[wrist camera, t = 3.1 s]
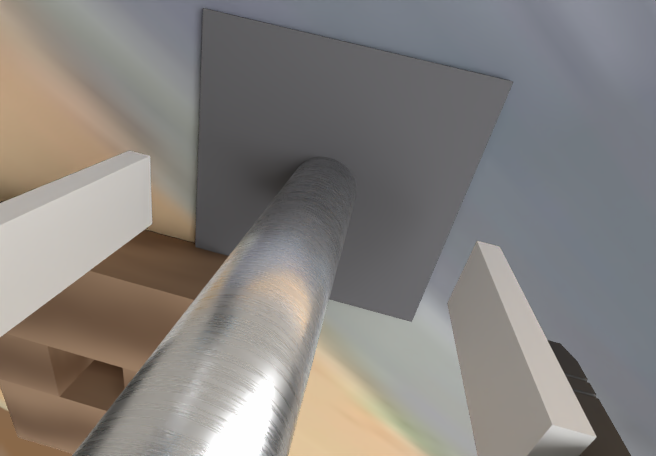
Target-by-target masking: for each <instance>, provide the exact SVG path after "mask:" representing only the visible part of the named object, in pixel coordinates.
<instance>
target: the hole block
mask: <svg viewBox="0 0 656 456" xmlns="http://www.w3.org/2000/svg"><path fill="white" fill-rule="evenodd" d="M227 258H228V256H226V255H223V254H219V253H215V252H212V251H208V250H204V249H201V248H197V247H195V243H192V242H188V241H184V240H180V239H177V238H173V237H169V236H166V235H162V234H158V233H155V232H151V231H147V230H143V231H142V232H141V233H139V234H138V235H137V236H135V237H134V238H133V239H131V240H130V241H129V242H127V243H126V244H125V245H123V246H122V247H121V248H119V249H118V250H117V251H115V252H114V253H113V254H111V255H110V256H108V257H107V258H106V259H104V260H103V261H102V262H100V263H99V264H98V265H96V266H95V267H94V268H92V269H91V270H90V271H88V272H87V273H86V274H84V275H83V276H82V277H80V278H79V279H78V280H76V281H75V282H74V283H72V284H71V285H70V286H68V287H67V288H66V289H64V290H63V291H62V292H60V293H59V294H58V295H56V296H55V297H54V298H52V299H51V300H50V301H48V302H47V303H46V304H44V305H43V306H41V307H40V308H39V309H37V310H36V311H35V312H33V313H32V314H31V315H29V316H28V317H27V318H25V319H24V320H23V321H21V322H20V323H19V324H17V325H16V326H15V327H13V328H12V329H11V330H9V331H8V332H7V333H5V334H4V335H3V336H1V337H0V387H1V390H2V393H3V396H4V399H5V402H6V405H7V407H8V410H9V413H10V416H11V419H12V422H13V424H14V427H15V430H16V433H17V436H18V437H19V438H22V439H26V440H29V441H32V442H36V443H39V444H42V445H45V446H49V447H52V448H55V449H58V450H62V451H65V452H68V453H71V454H74V453H75V451H76V450H77V449H78V447H79V446H80V445H81V444H82V442H83V441H84V440H85V439H86V437H87V436H88V435H89V433H90V432H91V431H92V430H93V428H94V427H95V426H96V425H97V423H98V422H99V421H100V419H101V418H102V417H103V416H104V414H105V413H106V412H107V411H108V409H109V408H110V407H111V405H112V404H113V403H114V402H115V400H116V399H117V398H118V397H119V395H120V394H121V393H122V391H123V390H124V389H125V388H126V386H127V385H128V384H129V383H130V381H131V380H132V379H133V377H134V376H135V375H136V374H137V372H138V371H139V370H140V368H141V367H142V366H143V365H144V363H145V362H146V361H147V360H148V358H149V357H150V356H151V354H152V353H153V352H154V351H155V349H156V348H157V347H158V346H159V344H160V343H161V342H162V340H163V339H164V338H165V337H166V335H167V334H168V333H169V332H170V330H171V329H172V328H173V326H174V325H175V324H176V323H177V321H178V320H179V319H180V318H181V316H182V315H183V314H184V312H185V311H186V310H187V309H188V307H189V306H190V305H191V304H192V302H193V301H194V300H195V298H196V297H197V296H198V295H199V293H200V292H201V291H202V289H203V288H204V287H205V286H206V284H207V283H208V282H209V281H210V279H211V278H212V277H213V275H214V274H215V273H216V272H217V270H218V269H219V268H220V267H221V265H222V264H223V263H224V261H225V260H226V259H227Z"/></svg>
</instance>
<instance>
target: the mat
mask: <svg viewBox="0 0 656 456" xmlns="http://www.w3.org/2000/svg"><path fill="white" fill-rule="evenodd" d="M512 84H513V82H512V81H509V80H505V79H500V78H496V77H492V76H488V75H483V74H479V73H475V72H471V71H467V70H462V69H458V68H454V67H450V66H445V65H441V64H437V63H433V62H429V61H424V60H420V59H416V58H412V57H407V56H403V55H399V54H395V53H391V52H386V51H382V50H378V49H374V48H369V47H365V46H361V45H357V44H353V43H348V42H344V41H340V40H336V39H331V38H327V37H323V36H319V35H315V34H310V33H306V32H302V31H298V30H293V29H289V28H285V27H281V26H277V25H272V24H268V23H264V22H260V21H255V20H251V19H247V18H243V17H239V16H234V15H230V14H226V13H222V12H217V11H213V10H209V9H204V8H203V27H202V57H201V87H200V117H199V147H198V177H197V208H196V238H195V247H197V248H201V249H204V250H208V251H212V252H215V253H219V254H223V255H226V256H229V255H230V254H231V253H232V251H233V250H234V249H235V247H236V246H237V245H238V244H239V242H240V241H241V240H242V239H243V237H244V236H245V235H246V233H247V232H248V231H249V230H250V228H251V227H252V226H253V224H254V223H255V222H256V221H257V219H258V218H259V217H260V216H261V214H262V213H263V212H264V210H265V209H266V208H267V207H268V205H269V204H270V203H271V202H272V200H273V199H274V198H275V196H276V195H277V194H278V193H279V191H280V190H281V189H282V188H283V186H284V185H285V184H286V182H287V181H288V180H289V179H290V177H291V176H292V175H293V174H294V172H295V171H296V170H297V168H298V167H299V166H300V165H301V164H302V163H304V162H305V161H307V160H309V159H312V158H316V157H327V158H332V159H335V160H337V161H339V162H341V163H342V164H343V165H345V166H346V167H347V168H348V169H349V170H350V172H351V173H352V175H353V177H354V179H355V182H356V189H357V192H356V198H355V202H354V206H353V210H352V214H351V217H350V221H349V225H348V229H347V233H346V236H345V240H344V244H343V248H342V252H341V255H340V259H339V263H338V267H337V271H336V275H335V278H334V282H333V286H332V290H331V294H330V297H329V299H330V300H334V301H338V302H341V303H345V304H349V305H352V306H356V307H360V308H363V309H367V310H371V311H374V312H378V313H382V314H385V315H389V316H392V317H396V318H400V319H403V320H407V321H411V322H412V320H413V318H414V315H415V313H416V310H417V308H418V306H419V303H420V301H421V299H422V296H423V294H424V292H425V289H426V287H427V284H428V282H429V280H430V277H431V275H432V273H433V270H434V268H435V266H436V263H437V261H438V259H439V256H440V254H441V251H442V249H443V247H444V244H445V242H446V240H447V237H448V235H449V233H450V230H451V228H452V226H453V223H454V221H455V218H456V216H457V214H458V211H459V209H460V207H461V204H462V202H463V200H464V197H465V195H466V193H467V190H468V188H469V185H470V183H471V181H472V178H473V176H474V174H475V171H476V169H477V167H478V164H479V162H480V159H481V157H482V155H483V152H484V150H485V148H486V145H487V143H488V141H489V138H490V136H491V134H492V131H493V129H494V126H495V124H496V122H497V119H498V117H499V115H500V112H501V110H502V108H503V105H504V103H505V101H506V98H507V96H508V93H509V91H510V89H511V86H512Z"/></svg>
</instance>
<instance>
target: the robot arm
mask: <svg viewBox="0 0 656 456" xmlns="http://www.w3.org/2000/svg"><path fill="white" fill-rule="evenodd" d="M151 224H152V199H151V169H150V156H149V155H145V154H141V153H137V152H133V151H130V150H129V151H127V152H125V153H122V154H120V155H117V156H115V157H112V158H110V159H107V160H105V161H102V162H100V163H97V164H95V165H93V166H90V167H88V168H85V169H83V170H80V171H78V172H75V173H73V174H70V175H68V176H65V177H63V178H61V179H58V180H56V181H53V182H51V183H48V184H46V185H43V186H41V187H38V188H36V189H34V190H31V191H29V192H26V193H24V194H21V195H19V196H16V197H14V198H11V199H9V200H6V201H2V202H0V337H1V336H3V335H4V334H5V333H7V332H8V331H9V330H11V329H12V328H13V327H15V326H16V325H17V324H19V323H20V322H21V321H23V320H24V319H25V318H27V317H28V316H29V315H31V314H32V313H33V312H35V311H36V310H37V309H39V308H40V307H41V306H43V305H44V304H46V303H47V302H48V301H50V300H51V299H52V298H54V297H55V296H56V295H58V294H59V293H60V292H62V291H63V290H64V289H66V288H67V287H68V286H70V285H71V284H72V283H74V282H75V281H76V280H78V279H79V278H80V277H82V276H83V275H84V274H86V273H87V272H88V271H90V270H91V269H92V268H94V267H95V266H96V265H98V264H99V263H100V262H102V261H103V260H104V259H106V258H107V257H108V256H110V255H111V254H113V253H114V252H115V251H117V250H118V249H119V248H121V247H122V246H123V245H125V244H126V243H127V242H129V241H130V240H131V239H133V238H134V237H135V236H137V235H138V234H139V233H141V232H142V231H143V230H145V229H146V228H147V227H149V226H150V225H151ZM447 304H448V309H449V314H450V319H451V324H452V329H453V334H454V339H455V344H456V349H457V354H458V359H459V364H460V369H461V374H462V379H463V384H464V389H465V394H466V399H467V404H468V409H469V415H470V420H471V425H472V430H473V435H474V440H475V445H476V450H477V455H478V456H631V455H630V453H629V451H628V450H627V448H626V446H625V444H624V443H623V441H622V439H621V437H620V436H619V434H618V432H617V430H616V429H615V427H614V425H613V423H612V422H611V420H610V418H609V416H608V415H607V413H606V411H605V409H604V407H603V406H602V404H601V402H600V400H599V399H598V398H596V393H595V392H594V390H593V388H592V386H591V385H590V383H588V382H587V378H586V376H585V374H584V372H583V371H582V369H581V367H580V365H579V364H578V362H577V361H576V360H575V358H574V357H573V356H572V355H571V354H570V353H569V352H568V351H567V350H566V349H565V348H564V347H563V346H562V345H561V344H560V343H556V342H552V341H549V340H547V339H546V337H545V335H544V333H543V331H542V329H541V327H540V325H539V323H538V321H537V319H536V317H535V315H534V313H533V311H532V309H531V307H530V305H529V303H528V301H527V299H526V297H525V295H524V294H523V292H522V290H521V288H520V286H519V284H518V282H517V280H516V278H515V276H514V274H513V272H512V270H511V268H510V266H509V264H508V262H507V260H506V258H505V256H504V254H503V252H502V250H501V248H500V247H499V246H495V245H491V244H487V243H484V242H480V241H477V242H476V244H475V246H474V248H473V250H472V252H471V254H470V257H469V259H468V261H467V263H466V265H465V267H464V269H463V271H462V273H461V276H460V278H459V280H458V282H457V284H456V286H455V288H454V290H453V293H452V295H451V297H450V299H449V301H448V303H447Z"/></svg>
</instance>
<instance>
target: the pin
mask: <svg viewBox="0 0 656 456" xmlns="http://www.w3.org/2000/svg"><path fill="white" fill-rule="evenodd" d="M356 192H357V189H356V182H355V179H354V177H353V175H352V173H351V172H350V170H349V169H348V168H347V167H346V166H345V165H343V164H342V163H341V162H339V161H337V160H335V159H332V158H327V157H316V158H312V159H309V160H307V161H305V162H304V163H302V164H301V165H300V166H299V167H298V168H297V170H296V171H295V172H294V174H293V175H292V176H291V177H290V179H289V180H288V181H287V182H286V184H285V185H284V186H283V188H282V189H281V190H280V191H279V193H278V194H277V195H276V196H275V198H274V199H273V200H272V202H271V203H270V204H269V205H268V207H267V208H266V209H265V210H264V212H263V213H262V214H261V216H260V217H259V218H258V219H257V221H256V222H255V223H254V224H253V226H252V227H251V228H250V230H249V231H248V232H247V233H246V235H245V236H244V237H243V239H242V240H241V241H240V242H239V244H238V245H237V246H236V247H235V249H234V250H233V251H232V253H231V254H230V255H229V256H228V258H227V259H226V260H225V261H224V263H223V264H222V265H221V267H220V268H219V269H218V270H217V272H216V273H215V274H214V275H213V277H212V278H211V279H210V281H209V282H208V283H207V284H206V286H205V287H204V288H203V289H202V291H201V292H200V293H199V295H198V296H197V297H196V298H195V300H194V301H193V302H192V304H191V305H190V306H189V307H188V309H187V310H186V311H185V312H184V314H183V315H182V316H181V318H180V319H179V320H178V321H177V323H176V324H175V325H174V326H173V328H172V329H171V330H170V332H169V333H168V334H167V335H166V337H165V338H164V339H163V340H162V342H161V343H160V344H159V346H158V347H157V348H156V349H155V351H154V352H153V353H152V354H151V356H150V357H149V358H148V360H147V361H146V362H145V363H144V365H143V366H142V367H141V368H140V370H139V371H138V372H137V374H136V375H135V376H134V377H133V379H132V380H131V381H130V383H129V384H128V385H127V386H126V388H125V389H124V390H123V391H122V393H121V394H120V395H119V397H118V398H117V399H116V400H115V402H114V403H113V404H112V405H111V407H110V408H109V409H108V411H107V412H106V413H105V414H104V416H103V417H102V418H101V419H100V421H99V422H98V423H97V425H96V426H95V427H94V428H93V430H92V431H91V432H90V433H89V435H88V436H87V437H86V439H85V440H84V441H83V442H82V444H81V445H80V446H79V447H78V449H77V450H76V451H75V453H74V454H73V455H72V456H288V454H289V450H290V446H291V442H292V439H293V435H294V431H295V427H296V423H297V420H298V416H299V412H300V408H301V404H302V401H303V397H304V393H305V389H306V385H307V381H308V378H309V374H310V370H311V366H312V362H313V359H314V355H315V351H316V347H317V343H318V339H319V336H320V332H321V328H322V324H323V320H324V317H325V313H326V309H327V305H328V301H329V297H330V294H331V290H332V286H333V282H334V278H335V275H336V271H337V267H338V263H339V259H340V255H341V252H342V248H343V244H344V240H345V236H346V233H347V229H348V225H349V221H350V217H351V214H352V210H353V206H354V202H355V198H356Z"/></svg>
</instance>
